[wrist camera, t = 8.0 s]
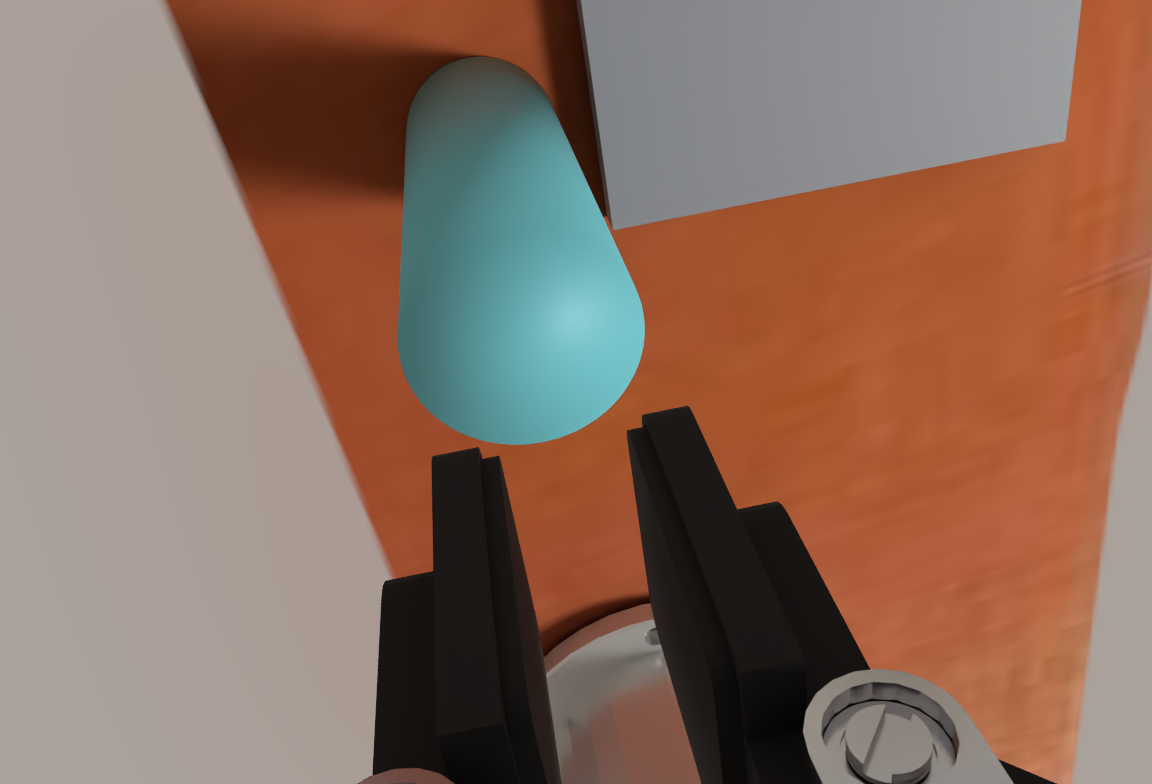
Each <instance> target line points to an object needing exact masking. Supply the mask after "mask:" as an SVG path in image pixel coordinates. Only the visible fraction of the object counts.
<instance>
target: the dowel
mask: <svg viewBox="0 0 1152 784" xmlns="http://www.w3.org/2000/svg"><path fill="white" fill-rule="evenodd" d="M644 335H645V326H644V315H643V310H642V305H641V301H640V299H639V296H638V293H637V290H636V288H635V286H634V284H633V282H632V279H631V277H630V275H629V273H628V271H627V268H626V266H625V264H624V262H623V260H622V257H621V255H620V253H619V251H618V249H617V247H616V244H615V242H614V240H613V238H612V236H611V233H610V231H609V229H608V227H607V225H606V223H605V220H604V218H603V216H602V214H601V212H600V209H599V207H598V205H597V203H596V201H595V198H594V196H593V194H592V192H591V190H590V188H589V185H588V183H587V181H586V179H585V177H584V174H583V172H582V170H581V168H580V166H579V163H578V161H577V159H576V157H575V155H574V153H573V150H572V148H571V146H570V144H569V142H568V139H567V137H566V135H565V133H564V131H563V128H562V126H561V124H560V122H559V120H558V118H557V115H556V113H555V111H554V109H553V107H552V104H551V102H550V100H549V98H548V96H547V95H546V93H545V91H544V90H543V88H542V87H541V86H540V84H539V83H538V82H537V81H536V80H535V79H534V78H533V77H532V76H531V75H530V74H528V73H527V72H526V71H525V70H523V69H522V68H520V67H518V66H517V65H515V64H512V63H510V62H508V61H505V60H502V59H498V58H493V57H478V56H477V57H468V58H464V59H460V60H456V61H454V62H451V63H449V64H447V65H445V66H443V67H442V68H440V69H438V70H437V71H436V72H435V73H433V74H432V75H431V76H430V77H429V78H428V79H427V80H426V81H425V82H424V83H423V84H422V86H421V87H420V88H419V90H418V91H417V93H416V95H415V97H414V99H413V101H412V104H411V106H410V109H409V113H408V118H407V127H406V150H405V174H404V198H403V222H402V247H401V271H400V295H399V319H398V351H399V356H400V361H401V366H402V369H403V371H404V374H405V377H406V380H407V381H408V383H409V385H410V387H411V389H412V391H413V392H414V394H415V395H416V396H417V398H418V399H419V400H420V402H421V403H422V404H423V405H424V406H425V407H426V408H427V409H428V410H429V411H430V412H431V414H433V415H434V416H435V417H436V418H438V419H439V420H440V421H442V422H443V423H444V424H446V425H448V426H449V427H451V428H453V429H454V430H456V431H458V432H461V433H463V434H465V435H467V436H470V437H473V438H476V439H479V440H483V441H487V442H493V443H498V444H512V445H518V444H533V443H539V442H545V441H549V440H553V439H557V438H560V437H562V436H565V435H568V434H570V433H573V432H575V431H577V430H579V429H581V428H583V427H585V426H586V425H588V424H589V423H591V422H592V421H594V420H595V419H597V418H598V417H600V416H601V415H602V414H603V413H604V412H605V411H607V410H608V409H609V408H610V407H611V406H612V405H613V404H614V403H615V402H616V401H617V400H618V398H619V397H620V396H621V395H622V393H623V392H624V391H625V389H626V388H627V386H628V385H629V383H630V381H631V379H632V378H633V376H634V374H635V372H636V369H637V367H638V364H639V361H640V358H641V354H642V350H643V346H644Z"/></svg>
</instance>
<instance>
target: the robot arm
mask: <svg viewBox="0 0 1152 784" xmlns="http://www.w3.org/2000/svg"><path fill="white" fill-rule="evenodd" d="M627 440H628V447H629V454H630V461H631V469H632V476H633V483H634V490H635V497H636V504H637V511H638V518H639V526H640V533H641V540H642V547H643V554H644V561H645V568H646V576H647V583H648V590H649V597H650V603H649V604H643V605H639V606H636V607H633V608H630V609H627V610H624V611H621V612H617V613H614V614H611V615H609V616H607V617H605V618H603V619H601V620H599V621H596V622H594V623H592V624H590V625H588V626H586V627H584V628H582V629H580V630H579V631H577V632H576V633H574V634H573V635H572V636H570V637H569V638H567V639H566V640H564V641H563V642H562V643H560V644H559V645H557V646H556V647H555V648H554V649H552V650H551V651H550V652H549V653H548V654H547V655H546V656H545V657H543V651H542V645H541V639H540V634H539V629H538V624H537V619H536V615H535V610H534V606H533V602H532V597H531V593H530V588H529V584H528V579H527V575H526V571H525V566H524V562H523V557H522V553H521V549H520V544H519V540H518V535H517V531H516V526H515V522H514V518H513V513H512V509H511V504H510V500H509V496H508V491H507V487H506V482H505V478H504V473H503V469H502V465H501V461H500V457H499V456H495V457H490V458H485V459H482V456H481V452H480V449H479V447H477V448H472V449H467V450H462V451H457V452H452V453H447V454H441V455H436V456H433V457H432V512H433V571H432V572H427V573H422V574H417V575H412V576H407V577H402V578H397V579H392V580H388V581H385V583H384V585H383V589H382V599H381V619H380V639H379V658H378V678H377V697H376V719H375V737H374V757H373V776H370V777H368V778H366V779H365V780H363V781H361V782H360V783H358V784H1056V783H1053V782H1051V781H1049V780H1046V779H1044V778H1042V777H1039V776H1037V775H1034V774H1032V773H1030V772H1027V771H1025V770H1023V769H1020V768H1018V767H1015V766H1013V765H1011V764H1008V763H1006V762H1003V761H1001V760H999V759H997V757H996V756H995V754H994V753H993V751H992V750H991V748H990V747H989V745H988V744H987V742H986V741H985V739H984V738H983V736H982V735H981V733H980V732H979V730H978V729H977V727H976V726H975V724H974V722H973V721H972V719H971V718H970V716H969V715H968V714H967V712H966V711H965V710H964V709H963V708H962V707H961V706H960V705H959V704H958V702H957V701H956V700H955V699H954V698H953V697H952V696H951V695H950V694H948V693H947V692H945V691H944V690H942V689H941V688H939V687H938V686H936V685H935V684H933V683H932V682H930V681H928V680H925V679H922V678H920V677H917V676H914V675H911V674H909V673H906V672H900V671H892V670H884V669H873V670H870V668H869V666H868V664H867V662H866V660H865V658H864V657H863V655H862V653H861V651H860V649H859V647H858V645H857V643H856V641H855V640H854V638H853V636H852V634H851V632H850V630H849V628H848V626H847V624H846V623H845V621H844V619H843V617H842V615H841V613H840V611H839V609H838V608H837V606H836V604H835V602H834V600H833V598H832V596H831V594H830V592H829V591H828V589H827V587H826V585H825V583H824V581H823V579H822V577H821V575H820V574H819V572H818V570H817V568H816V566H815V564H814V562H813V560H812V558H811V557H810V555H809V553H808V551H807V549H806V547H805V545H804V543H803V542H802V540H801V538H800V536H799V534H798V532H797V530H796V528H795V526H794V525H793V523H792V521H791V519H790V517H789V515H788V513H787V512H786V510H785V509H784V507H783V506H782V504H780V503H779V502H772V503H767V504H762V505H757V506H752V507H747V508H742V509H737V508H736V506H735V504H734V502H733V500H732V498H731V495H730V493H729V491H728V489H727V487H726V485H725V482H724V480H723V478H722V476H721V474H720V471H719V469H718V467H717V465H716V463H715V461H714V458H713V456H712V454H711V452H710V450H709V448H708V445H707V443H706V441H705V439H704V437H703V434H702V432H701V430H700V428H699V426H698V424H697V421H696V419H695V417H694V415H693V413H692V411H691V409H690V407H689V406H684V407H679V408H674V409H669V410H664V411H659V412H654V413H649V414H644V415H642V427H641V428H636V429H631V430H627Z"/></svg>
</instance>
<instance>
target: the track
mask: <svg viewBox="0 0 1152 784" xmlns="http://www.w3.org/2000/svg"><path fill="white" fill-rule="evenodd" d="M1081 2H1082V0H576V3H577V10H578V17H579V24H580V31H581V38H582V45H583V52H584V59H585V66H586V73H587V80H588V87H589V94H590V101H591V108H592V115H593V122H594V129H595V136H596V143H597V150H598V157H599V164H600V171H601V178H602V185H603V192H604V199H605V206H606V213H607V218H608V220H609V222H610V225H611V227H612V229H613V230H616V229H621V228H627V227H632V226H637V225H642V224H647V223H652V222H657V221H662V220H667V219H672V218H677V217H682V216H687V215H692V214H697V213H703V212H708V211H713V210H718V209H723V208H728V207H733V206H738V205H743V204H748V203H753V202H758V201H763V200H768V199H773V198H778V197H784V196H789V195H794V194H799V193H804V192H809V191H814V190H819V189H824V188H829V187H834V186H839V185H844V184H849V183H854V182H860V181H865V180H870V179H875V178H880V177H885V176H890V175H895V174H900V173H905V172H910V171H915V170H920V169H925V168H930V167H935V166H941V165H946V164H951V163H956V162H961V161H966V160H971V159H976V158H981V157H986V156H991V155H996V154H1001V153H1006V152H1011V151H1017V150H1022V149H1027V148H1032V147H1037V146H1042V145H1047V144H1052V143H1057V142H1062V141H1065V138H1066V130H1067V121H1068V113H1069V104H1070V96H1071V87H1072V79H1073V70H1074V62H1075V53H1076V45H1077V36H1078V27H1079V19H1080V10H1081Z"/></svg>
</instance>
